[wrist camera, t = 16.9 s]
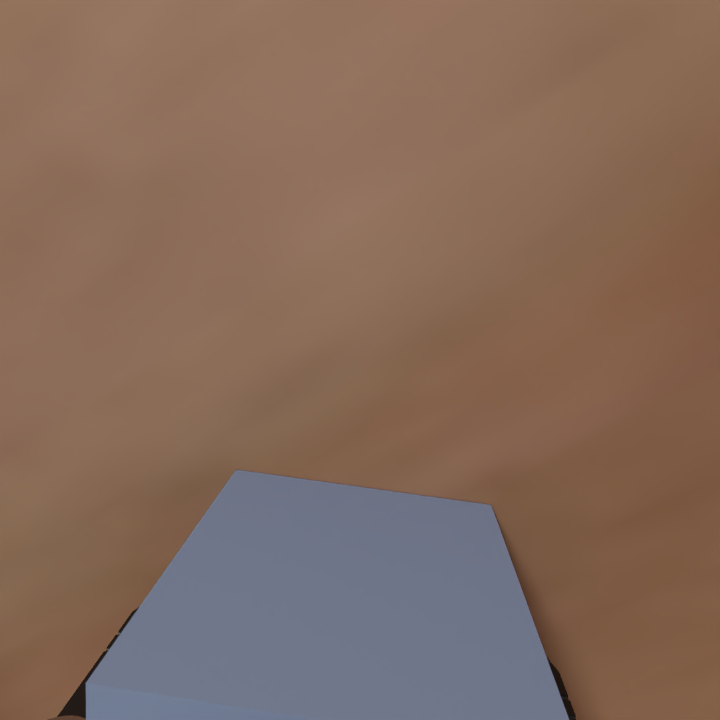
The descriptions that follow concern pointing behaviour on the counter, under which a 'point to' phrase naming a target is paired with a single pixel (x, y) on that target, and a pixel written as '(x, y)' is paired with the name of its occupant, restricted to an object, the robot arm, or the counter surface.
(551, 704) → the blue cube
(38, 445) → the counter surface
